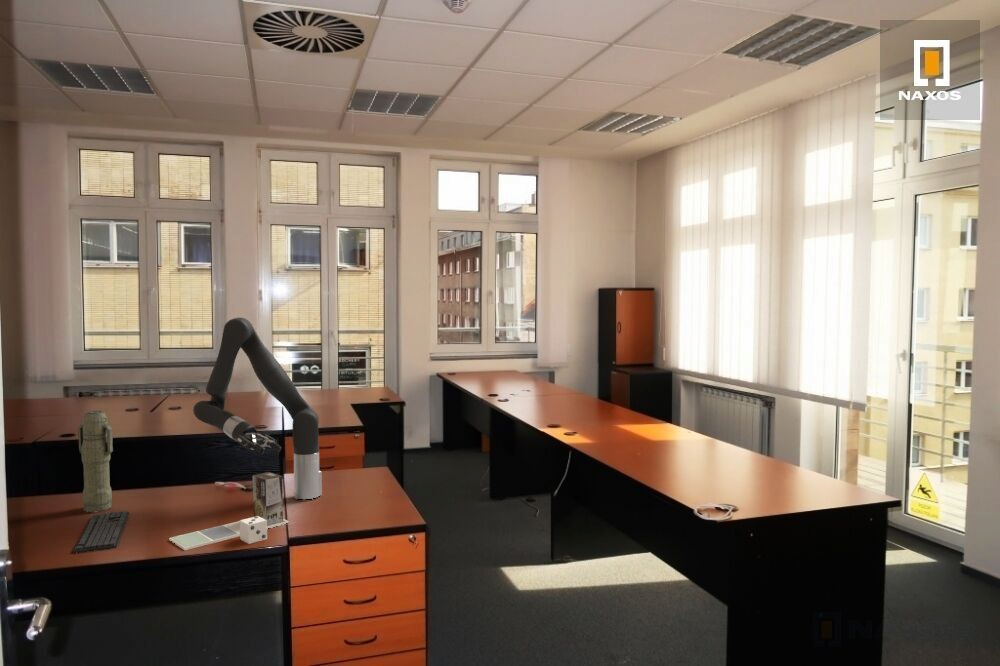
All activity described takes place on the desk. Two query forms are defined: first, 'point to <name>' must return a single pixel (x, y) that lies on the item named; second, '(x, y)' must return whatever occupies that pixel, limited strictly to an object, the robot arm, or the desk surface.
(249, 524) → the die
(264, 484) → the coffee box
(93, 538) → the keyboard
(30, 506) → the desk surface
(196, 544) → the board
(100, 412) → the khaki stone statue
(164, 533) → the desk surface
